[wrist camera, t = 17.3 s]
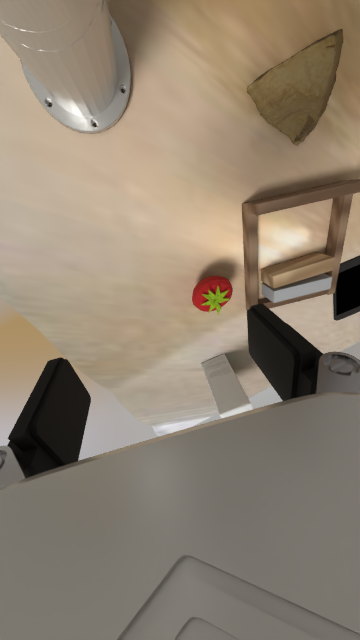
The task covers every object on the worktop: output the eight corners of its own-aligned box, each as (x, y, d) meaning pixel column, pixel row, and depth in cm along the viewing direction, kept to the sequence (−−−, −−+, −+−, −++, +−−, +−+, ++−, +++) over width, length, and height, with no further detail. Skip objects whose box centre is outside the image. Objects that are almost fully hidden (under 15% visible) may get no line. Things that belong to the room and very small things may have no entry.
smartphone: (332, 321, 55) (335, 322, 54) (331, 266, 48) (334, 267, 47) (360, 309, 55) (363, 310, 54) (363, 252, 47) (367, 253, 46)
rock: (334, 129, 33) (340, 30, 27) (338, 142, 28) (345, 23, 22) (260, 156, 39) (250, 79, 33) (251, 171, 34) (238, 83, 28)
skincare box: (232, 375, 57) (261, 428, 44) (208, 384, 58) (230, 440, 44) (223, 352, 53) (253, 403, 40) (198, 362, 54) (219, 417, 40)
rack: (241, 203, 38) (258, 204, 33) (343, 180, 39) (374, 177, 34) (246, 309, 48) (259, 322, 43) (326, 289, 50) (348, 299, 44)
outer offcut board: (261, 282, 46) (274, 291, 42) (314, 269, 47) (332, 276, 43) (261, 293, 47) (273, 303, 43) (312, 280, 48) (330, 288, 44)
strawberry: (226, 286, 45) (247, 306, 36) (194, 304, 46) (207, 328, 37) (215, 261, 42) (235, 277, 34) (181, 281, 43) (192, 301, 34)
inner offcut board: (260, 269, 45) (273, 276, 40) (315, 251, 45) (334, 257, 41) (261, 280, 46) (273, 288, 42) (314, 263, 46) (333, 270, 42)
